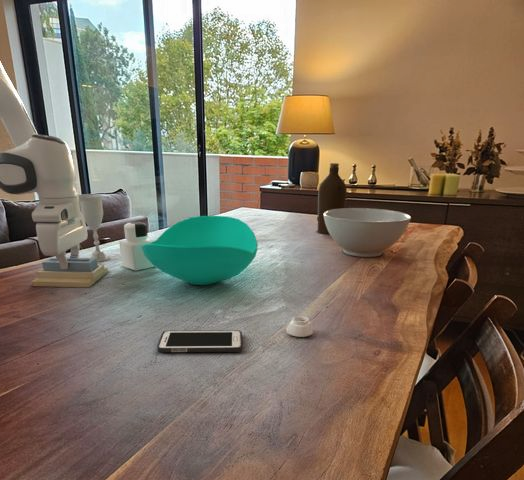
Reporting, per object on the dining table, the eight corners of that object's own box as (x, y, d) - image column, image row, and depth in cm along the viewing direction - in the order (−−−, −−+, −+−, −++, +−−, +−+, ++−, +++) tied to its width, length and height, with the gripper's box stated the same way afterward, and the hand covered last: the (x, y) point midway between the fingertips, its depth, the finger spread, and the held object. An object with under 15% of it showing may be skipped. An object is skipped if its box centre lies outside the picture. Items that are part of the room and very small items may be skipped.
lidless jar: (317, 332, 87) (296, 326, 90) (318, 318, 86) (297, 312, 89) (302, 340, 84) (281, 333, 87) (303, 326, 83) (281, 319, 86)
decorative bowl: (376, 241, 164) (380, 206, 158) (422, 259, 141) (429, 219, 136) (308, 246, 156) (310, 209, 151) (344, 265, 133) (348, 223, 128)
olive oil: (348, 231, 180) (354, 163, 169) (334, 235, 172) (339, 164, 162) (324, 228, 186) (329, 162, 175) (310, 232, 178) (314, 163, 168)
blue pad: (44, 274, 115) (41, 261, 114) (52, 268, 119) (50, 256, 118) (91, 274, 115) (89, 262, 113) (98, 269, 119) (96, 257, 118)
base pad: (32, 286, 112) (30, 275, 110) (56, 270, 124) (55, 260, 123) (90, 287, 111) (88, 276, 110) (109, 271, 124) (107, 261, 123)
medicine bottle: (143, 261, 134) (139, 219, 129) (157, 266, 129) (153, 223, 124) (121, 266, 129) (116, 222, 124) (134, 271, 125) (130, 226, 120)
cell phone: (242, 352, 79) (242, 347, 78) (156, 353, 78) (155, 348, 78) (241, 334, 86) (241, 330, 85) (163, 335, 85) (162, 330, 85)
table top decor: (171, 260, 136) (168, 214, 131) (263, 263, 134) (264, 217, 128) (122, 304, 100) (115, 244, 95) (247, 310, 98) (247, 248, 93)
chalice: (106, 262, 132) (97, 197, 125) (83, 262, 133) (72, 197, 125) (114, 256, 139) (106, 194, 131) (91, 256, 139) (82, 194, 131)
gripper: (65, 202, 120) (74, 255, 126) (27, 215, 101) (39, 275, 107) (89, 203, 120) (96, 255, 126) (55, 215, 101) (66, 276, 107)
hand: (70, 265), depth 116 cm, fingers closed on blue pad, 5 cm apart
